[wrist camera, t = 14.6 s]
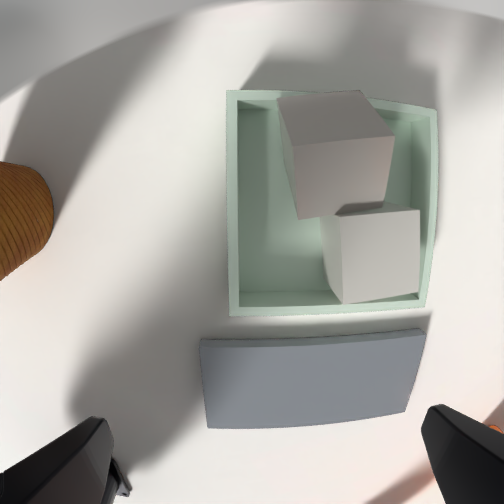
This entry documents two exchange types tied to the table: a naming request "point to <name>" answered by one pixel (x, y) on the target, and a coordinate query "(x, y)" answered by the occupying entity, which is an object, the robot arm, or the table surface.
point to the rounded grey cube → (371, 253)
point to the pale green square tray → (308, 230)
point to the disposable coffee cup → (22, 215)
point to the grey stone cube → (334, 152)
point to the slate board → (308, 379)
